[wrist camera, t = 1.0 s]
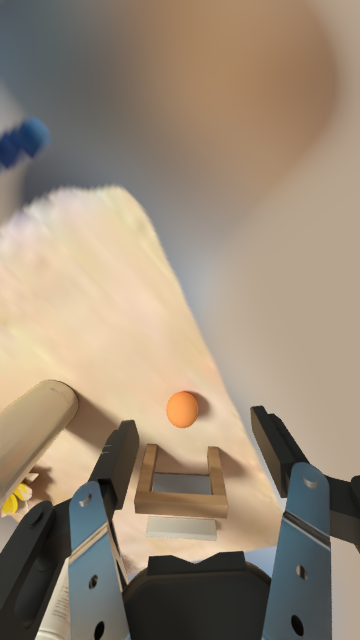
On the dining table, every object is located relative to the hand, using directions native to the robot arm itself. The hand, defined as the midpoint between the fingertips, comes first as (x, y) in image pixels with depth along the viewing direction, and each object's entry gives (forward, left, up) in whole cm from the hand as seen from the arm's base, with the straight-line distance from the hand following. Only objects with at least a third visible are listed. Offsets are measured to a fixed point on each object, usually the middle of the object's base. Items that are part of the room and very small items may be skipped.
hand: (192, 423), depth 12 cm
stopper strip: (-34, -33, -18) cm, 51 cm away
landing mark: (-28, -27, -18) cm, 43 cm away
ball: (-10, -8, -15) cm, 20 cm away
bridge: (-19, -18, -18) cm, 31 cm away
